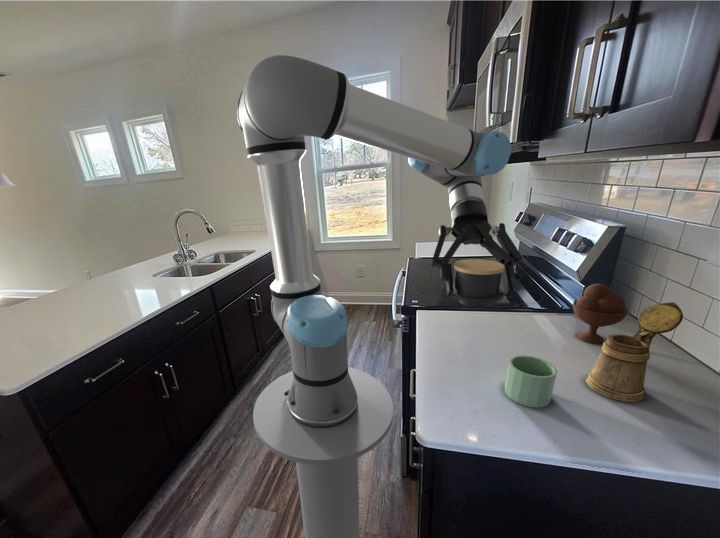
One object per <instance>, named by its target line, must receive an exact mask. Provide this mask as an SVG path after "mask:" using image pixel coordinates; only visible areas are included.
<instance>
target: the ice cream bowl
mask: <svg viewBox="0 0 720 538" xmlns="http://www.w3.org/2000/svg"><path fill="white" fill-rule="evenodd" d="M582 295H583V296H580V297H579V298H578V299H574V300H573V303H572V310H573V314H574V315H575V316H576V317H577V318H578V319H579V320H580V321H581V322H583V323H584V324H586V325H588V330H587V331H584V332H579V333H578V334H577V338H578V339H579V340H581V341H583V342H586V343H589V344H597V345H598V344H604V337H603V336H601V335H599V334H598V333H597V332H598V329H599V328H602V327H603V328H604V327H609V326H613V325H616V324H618V323H620V322H622V321H623V320H624V319H625V318H626V316H627V315H628V313H629V311H628V307H626V301H625V298H624V297H623V296H622V295H621V294H619V293H617V292H615V291H612V290H611V288H610V287H609V286H608V285H606V284H602V283H593V284H590V285H587V286H586V288H585V289H584V291H583V294H582Z"/></svg>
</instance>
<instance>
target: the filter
mask: <svg viewBox="0 0 720 538" xmlns="http://www.w3.org/2000/svg"><path fill="white" fill-rule="evenodd" d="M453 269H454V275H453V290H454V291H453V293H452V295H451V296H450V297H451V298H453V299H455V300H458V301H459V303H460V304H461V305H463V306H466V307H470V308H484V307H487V306H488V305H489V304H492V303H497V302H500V301H502V300H503V299H504V297H505V296H504V290H503V289H502V288H501V287H500V286H501V282H502V278H501V274H502V272H503V271H504V265H503V264H501V263H499V262H498V261H497V260H496V261H495V260H492V259H491V260H490V259H481V258H466V259H459V260H456V261H454V263H453Z"/></svg>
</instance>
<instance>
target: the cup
mask: <svg viewBox="0 0 720 538" xmlns="http://www.w3.org/2000/svg"><path fill="white" fill-rule="evenodd" d="M507 365H508V366H507V371H506V376H505V383H504V393H505V395H506V396H507V397H508V398H509V399H510V400H512V401H513V402H515V403H517V404H520V405H521V406H525V407H529V408H544V407H547V406H548V405H549V404H550V402H551V399H552V396H553V391H554V387H555V384H556V379H557V375H558V370H557V368H556V366H555V365H553V364H552V363H551V362H549V361H547V360H546V359H543V358H541V357H536V356H532V355H525V354H523V355H515V356H512V357H510V359H509V361H508V364H507Z"/></svg>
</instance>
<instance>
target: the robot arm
mask: <svg viewBox="0 0 720 538" xmlns="http://www.w3.org/2000/svg"><path fill="white" fill-rule="evenodd" d="M236 115H237V116H236V117H237V122H238V125H239V127H240V130H241V132H242V135H243V137H244V142H245V148H246V154H247V158H248V159H249V160H250V161H251V162H252V163H253V164H255V166H256V167H257V173H258V179H259V184H260V185H259V186H260V192H261V197H262V203H263V209H264V215H265V222H266V228H267V233H268V239H269V245H270V246H269V247H270V252H271V258H272V265H273V270H274V277H275V279H274V280H273V281H272V282H271V284H270V285H269V287H270V292H271V302H270V303H271V305H270V308H271V315H272V318H273V320H274V322H275V324H276V325H277V326H278V327H279V329H280V331H281V333H282V334H283V337H284V338H285V340H286V342H287V345H288V346H289V350H290V357H291V358H290V359H291V366H292V371H293V379H292V383H291V387H290V390H288V391H286V392H284V395H285V396H287V395H288V409H289V412H290V415H291V416H292V417H293V418H294V419H295V420H296V421H297V422H299V423H300V424H303V425H305V426H308V427H313V428H329V427H333V426H337V425H340V424H342V423H344V422H346V421H347V420H348V419H350V418H351V417H352V416H353V414H354V413H355V411H356V409H357V405H358V399H357V392H356V389H355V387H354V384H353V382H352V380H351V377H350V375H349V373H348V367H349V356H348V355H349V353H348V350H349V349H348V328H349V327H348V319H347V312H346V310H345V307H344V305H343V304H342V303H341V302H340V301H339V300H337V299H335V298H333V297H330V296H327V297H326V296H325V295H322V294H323V293H322V285H321V279H320V278H319V277H318V276H316V275H315V274H314V272H313V264H312V256H311V246H310V239H309V231H308V229H309V228H308V221H307V212H306V203H305V195H304V187H303V179H302V171H301V160H302V158H303V157H304V155H305V154H306V153H307V147H306V138H305V137H312V138H313V137H314V138H318V139H322V140H326V141H330V140H332V139H333V138H334V137H339V138H342V139H346V140H349V141H352V142H355V143H359V144H362V145H366V146H369V147H373V148H376V149H380V150H383V151H387V152H390V153H393V154H396V155H399V156H403V157H406V158H408V161H407V162H408V165H409V166H410V167H411V168H412V169H413V170H415V171H416V172H418V174H421V175H423V176H424V177H427V178H429V179H430V180H432V181H434V182H435V183H438V184H440V185H442V186H443V187H446V189H447V192H448V199H449V207H450V218H451V226H447V227H446V226H445V224H442V225H440V226H439V230H438V232H437V233H438V241H437V244H436V247H435V250H434V253H433V256H432V260H431V262H430V266H431V267H437V268H438V270H439V273H440V280H441V282H445V286H446V288H445V289H446V296H447V297H451V295H452V293H453V291H454V290H453V284H454V279H453V271H452V269H453V268H452V263H449V262H450V261H451V259H452V258H453V257H454V255H455V254H456V252H457V250H458V249H459V248H460V246H461V244H462V245H464V246H467V245H480V247H482V248H484V249H485V250H486V251H487V252H488V253H489V254H490V255H491V256H492V257H493V258H494V259H495V260H496V262H499V263H501V264H503V265H504V271H503V272H502V274H501V284H502V290H503V292H504V297H510V295H511V294H512V293H513V292H514V286H513V285H514V284H513V280H514V278H516V272H515V266H518V265H519V263H520V262H521V261H522V259H523V256H522V253H520V251H519V249H518V248H517V246H516V245H515V244H514V242H513V240H512V239H511V237H510V235H509V234H508V232H507V230H506V225H505V223H503V222H500V223H499V224H498V225H491V224H490V222H489V220H488V219H489V218H488V217H489V216H488V212H487V207H486V199H485V194H484V188H483V183H482V177H485V176H490V175H491V176H492V175H496V174H498V173H499V172H501V171H502V170H504V168H506V166H507V164H508V162H509V160H510V156H511V153H512V144H511V140H510V138H509V136H508V135H507V134H506V133H504V132H502V131H486V132H483V133H481V132H477V131H475V130H472V129H469V128H466V127H464V126H461V125H459V124H456V123H453V122H450V121H448V120H445V119H442V118H439V117H437V116H434V115H432V114H430V113H426V112H424V111H421V110H419V109H416V108H413V107H412V106H408V105H405V104H403V103H400V102H398V101H395V100H392V99H389V98H387V97H384V96H382V95H379V94H376V93H374V92H371V91H369V90H366V89H363V88H361V87H358V86H355V85H353V84H350V81H349V78H348V76H347V74H345V73H343V72H340V71H339V70H336V69H333V68H331V67H328V66H326V65H323V64H320V63H317V62H314V61H311V60H308V59H304V58H302V57H297V56H292V55H288V54H287V55H286V54H285V55H284V54H278V55H277V54H276V55H272V56H268V57H266V58H264V59H262V60H260V61H259V62H257V64H255V66H254V67H253V68H252V70H251V72H250V73H249V75H248V77H247V79H246V83H245V85H244V86H243V88H242V90H241V91H240V94H239V97H238V100H237V105H236ZM490 233H492V234H493V236H492V234H490ZM450 234H451V235H452V236H453V237H454V238H455V240H454V241H453V243H452V244H451V246H450V247H449V248H448V250H447V251H446V253H445V255H444V256H443V257H442V259H441V258H440V255H441V252H442V249H443V246H444V243H445V240H446V238H448V237H449V235H450ZM493 237H495V238H496V240H497V241H496V240H494V239H493Z"/></svg>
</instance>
